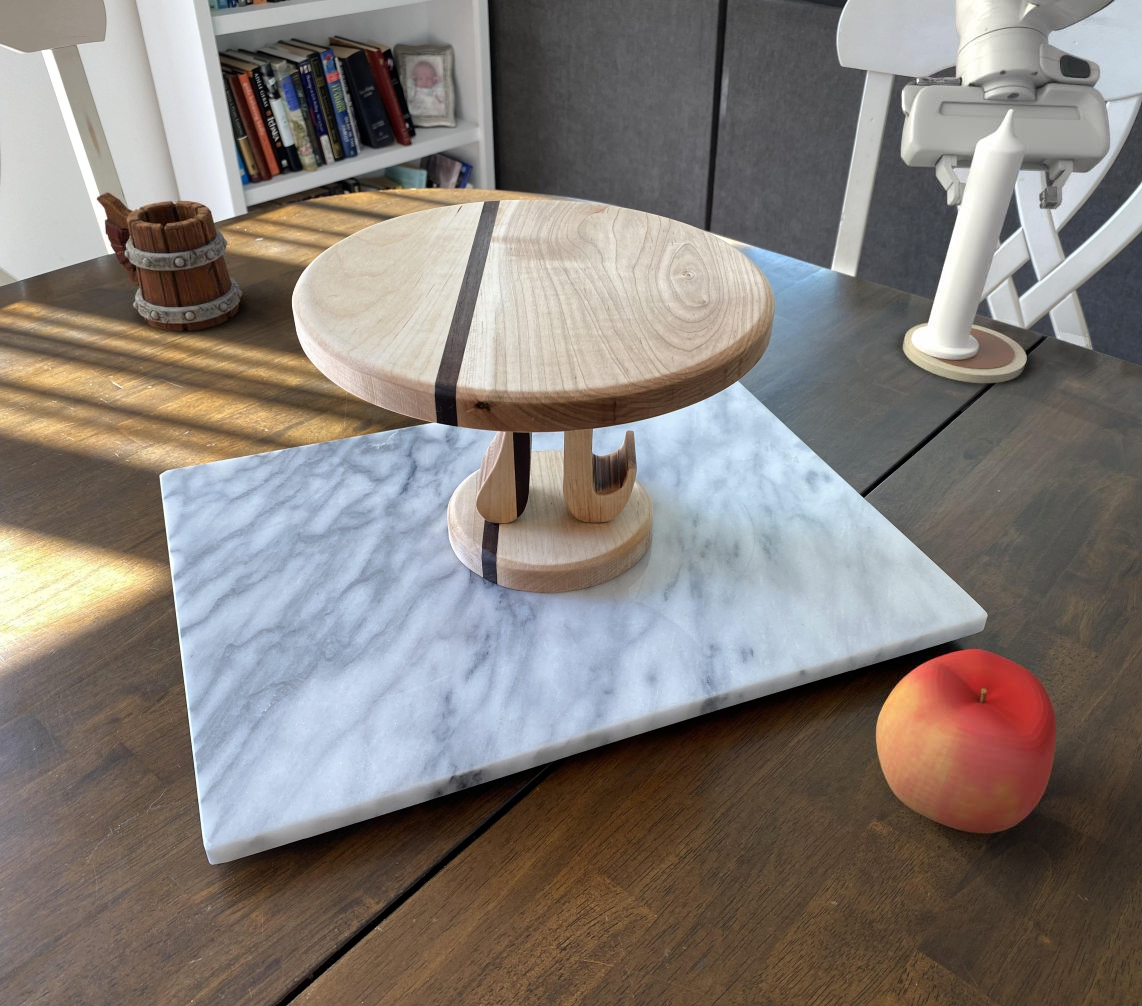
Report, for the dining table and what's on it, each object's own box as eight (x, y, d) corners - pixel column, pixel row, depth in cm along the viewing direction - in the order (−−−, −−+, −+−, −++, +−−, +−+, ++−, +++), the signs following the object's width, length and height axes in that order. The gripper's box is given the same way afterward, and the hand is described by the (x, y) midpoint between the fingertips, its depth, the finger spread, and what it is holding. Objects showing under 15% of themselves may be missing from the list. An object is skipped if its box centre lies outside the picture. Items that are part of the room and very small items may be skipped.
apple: (914, 713, 63) (953, 603, 57) (1052, 803, 57) (1111, 692, 51) (831, 793, 58) (865, 682, 52) (974, 901, 52) (1030, 790, 46)
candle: (990, 350, 103) (1067, 113, 88) (949, 366, 100) (1021, 122, 85) (938, 326, 108) (1003, 96, 93) (897, 340, 105) (957, 105, 90)
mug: (208, 341, 103) (156, 205, 95) (110, 340, 108) (53, 211, 100) (269, 300, 112) (227, 173, 104) (177, 300, 117) (129, 179, 109)
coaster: (970, 324, 112) (973, 314, 111) (1049, 374, 102) (1053, 363, 101) (879, 339, 108) (881, 328, 107) (951, 392, 98) (955, 382, 97)
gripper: (912, 58, 94) (912, 186, 92) (1116, 65, 94) (1121, 194, 92) (891, 94, 101) (891, 214, 99) (1083, 101, 100) (1087, 222, 98)
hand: (1004, 205), depth 95 cm, fingers open, 8 cm apart
